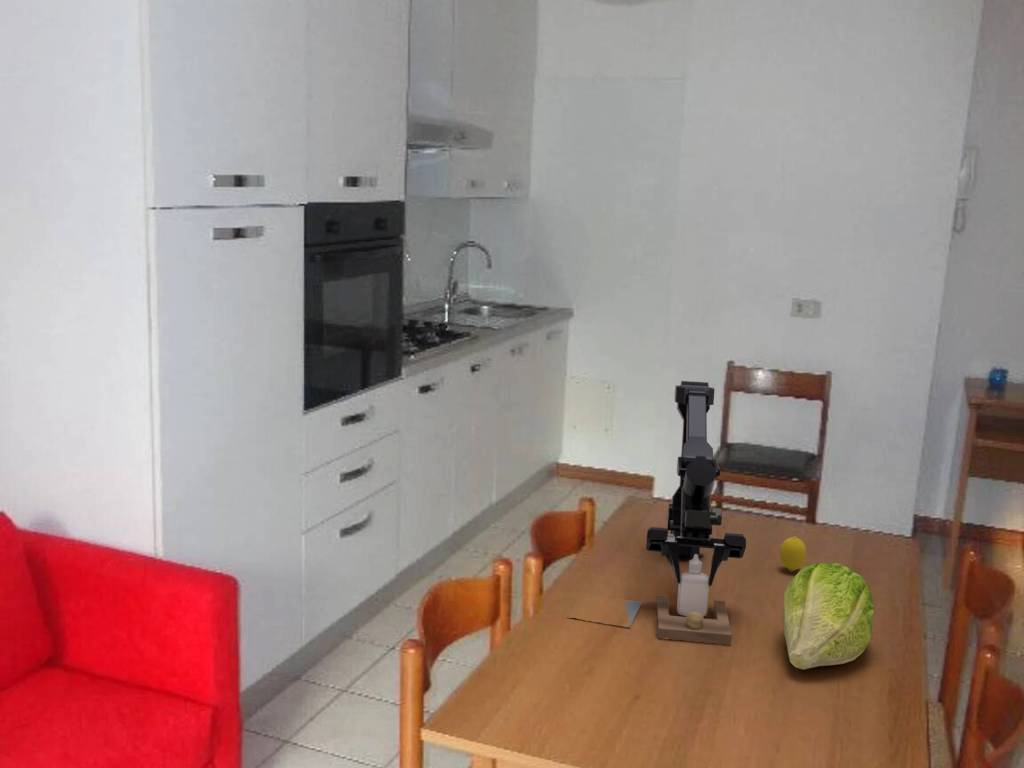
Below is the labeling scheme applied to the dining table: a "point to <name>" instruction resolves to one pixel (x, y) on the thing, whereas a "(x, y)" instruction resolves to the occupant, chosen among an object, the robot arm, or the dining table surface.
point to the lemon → (793, 553)
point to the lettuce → (826, 616)
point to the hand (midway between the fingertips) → (694, 584)
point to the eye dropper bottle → (693, 589)
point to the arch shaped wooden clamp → (694, 624)
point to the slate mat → (632, 609)
